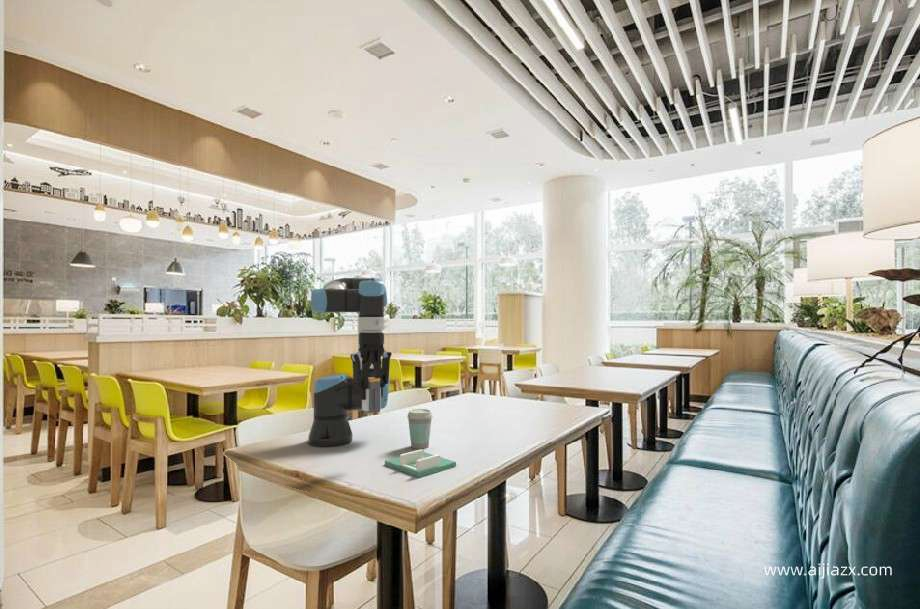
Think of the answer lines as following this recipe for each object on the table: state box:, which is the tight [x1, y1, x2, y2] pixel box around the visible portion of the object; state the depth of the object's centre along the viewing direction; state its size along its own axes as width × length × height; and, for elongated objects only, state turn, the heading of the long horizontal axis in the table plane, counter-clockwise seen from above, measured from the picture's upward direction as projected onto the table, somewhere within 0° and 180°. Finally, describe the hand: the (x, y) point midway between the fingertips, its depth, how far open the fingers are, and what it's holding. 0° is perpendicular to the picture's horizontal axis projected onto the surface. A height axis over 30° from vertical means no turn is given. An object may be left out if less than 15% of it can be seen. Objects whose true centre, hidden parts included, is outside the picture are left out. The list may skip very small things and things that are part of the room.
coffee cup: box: [406, 408, 433, 450], centre depth 158 cm, size 8×8×12 cm
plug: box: [362, 377, 381, 414], centre depth 140 cm, size 5×4×10 cm
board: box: [384, 449, 457, 478], centre depth 137 cm, size 16×14×4 cm
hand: (371, 409), depth 140 cm, fingers closed on plug, 3 cm apart
